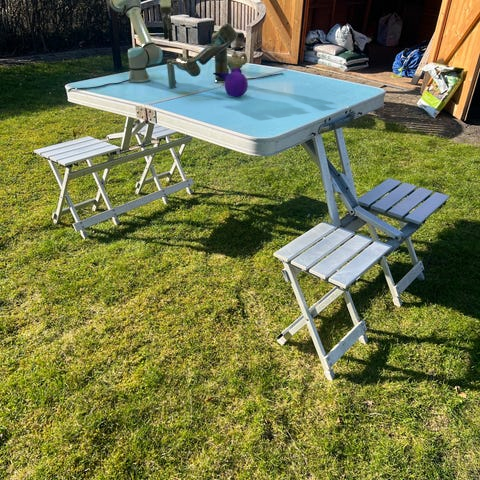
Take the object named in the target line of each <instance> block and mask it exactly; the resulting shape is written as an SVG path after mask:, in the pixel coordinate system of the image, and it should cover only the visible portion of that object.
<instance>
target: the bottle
mask: <svg viewBox="0 0 480 480" xmlns="http://www.w3.org/2000/svg"><path fill="white" fill-rule="evenodd" d="M166 69H167V79H168V88H169V89H175V88H177V82H176V83H175V80H176V72H175V65H172V66H171V65H168V64H167V63H166Z"/></svg>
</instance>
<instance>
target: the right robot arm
mask: <svg viewBox="0 0 480 480" xmlns="http://www.w3.org/2000/svg"><path fill="white" fill-rule="evenodd" d="M238 36H239V34H238V33H237V31H236V30H235V29H234V27H233V26H232V25H231V24H230V23H229V22H226V23H224V24H223V25H221V26H220V28H219V29H218V30H217V31H215V32H213V33H212V35H211V44H212V45H209V46H206V47H205V48H203V49H202V50H201V51H200V52H199V53H198V54H197V55H194V56H193V57H191V58H187V57H184V56H179V57H177V58H176V59H175V58H173V59H167V60H166V65H167V64H168V65H171V66H172V65H174V66H175V67H176V68H177V69H179V70H181V71H184V72H186V73H187V74H188V75H189V76H190V77H198V76H200V74H201V68H200V66H199V64H201V65H202V66H205V65H207V63H208V62H210V61H211V60H212V59H213V58H214V73H229V74H230V69H229V67H228V64H227V58H228V47H229V46H230V45H232V43H234V42H235V41H236V40H237V39H238ZM197 62H198V63H199V64H198V63H197ZM279 75H284V73H283V72H280V73H273V74H268V75H264V76H258V77H250V78H249V77H246V79H247V80H258V79H265V78H268V77H273V76H279ZM214 76H215V80H214V81H215V83H217V84H225V80H223V79H221V78H220V77H218V76H216V75H214Z"/></svg>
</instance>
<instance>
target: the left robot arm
mask: <svg viewBox="0 0 480 480" xmlns="http://www.w3.org/2000/svg"><path fill="white" fill-rule="evenodd" d="M158 3H159V6H160V7H159V10H160V11H159V12H160V14H161V16H162V22H161V23H162V24H161V25H162V26H161V27H162V29H163V30H162V31H163V40H168V42H170V43H171V42H173V41H174V38H173V37H174V36H173V31H174V30H173V23H172V17H171V14H172V7H171V6H172V1H171V0H159V1H158ZM109 6H110V8H111V9H112V10H113V11H115V12H116V13H125V15H126V17H128V18H129V20H130V21H131V24H132V27H133V29H134V31H135V34H136V36H137V38H138V40H139V43H140V45H141V46H134V47H131V48H129V49H127V57H128V66H129V76H128V79H125V80H122V81H118V82H110V83H105V84H101V85H95V86H87V87H71V88H70V87H69V89H67V92H68V93H69V92H70V91H72V90H91V89H97V88H103V87H106V86H110V85H111V86H112V85H120V84H123V83H126V82H129V83H133V84H141V83H148V82H150V75H149V74H148V71H147V67H146V66H150V65H158V64H160V63H162V60H163V57H164V55H163V50H162V48H161V47H160V46H157V44H156V42H155V41H153V40H152V38H151V35H150V32H149V30H148V28H147V25H146V24H145V21H144V19H143V17H142V15H141V10H142V1H141V0H109ZM75 88H77V89H75ZM72 133H73V139H75V140H76V139H77V138H76V132H75V129H72Z"/></svg>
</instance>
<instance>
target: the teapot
mask: <svg viewBox="0 0 480 480" xmlns="http://www.w3.org/2000/svg"><path fill="white" fill-rule="evenodd" d="M242 58H243V60H242ZM247 63H248V56H247V53H246V52H242V53H240V54H238V53H237V52H236V50H233V53H232V54H231V57H227V64H228V68H229V71H231V70H232V69H235V68H240V69H242V68H243V66H244V65H246V64H247Z"/></svg>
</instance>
